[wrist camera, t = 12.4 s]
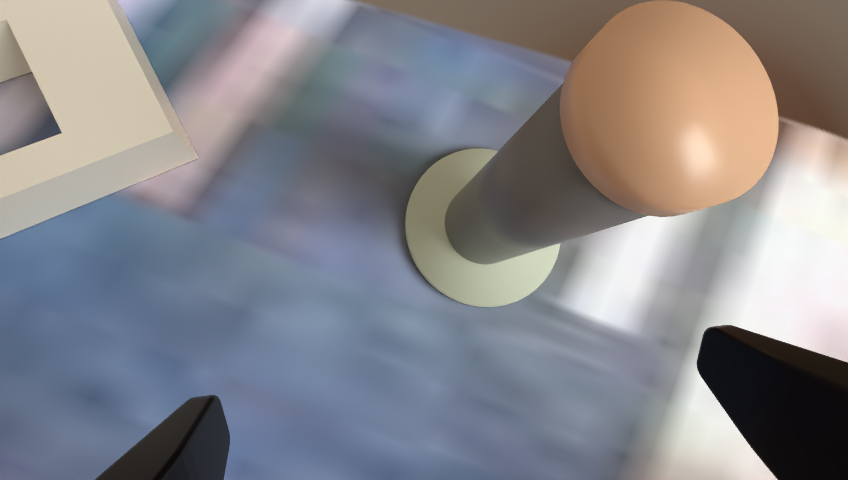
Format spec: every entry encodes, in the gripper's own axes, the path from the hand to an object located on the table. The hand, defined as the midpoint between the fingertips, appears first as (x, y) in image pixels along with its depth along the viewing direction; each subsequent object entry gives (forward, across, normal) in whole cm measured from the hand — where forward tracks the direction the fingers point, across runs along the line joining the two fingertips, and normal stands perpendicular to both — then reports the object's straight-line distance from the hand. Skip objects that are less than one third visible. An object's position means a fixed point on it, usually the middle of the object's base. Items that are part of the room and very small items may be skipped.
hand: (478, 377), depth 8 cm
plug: (+13, -4, +2) cm, 14 cm away
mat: (+14, -4, +2) cm, 14 cm away
